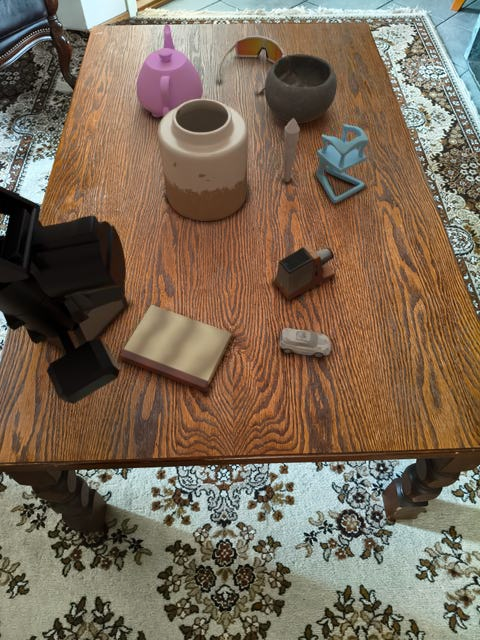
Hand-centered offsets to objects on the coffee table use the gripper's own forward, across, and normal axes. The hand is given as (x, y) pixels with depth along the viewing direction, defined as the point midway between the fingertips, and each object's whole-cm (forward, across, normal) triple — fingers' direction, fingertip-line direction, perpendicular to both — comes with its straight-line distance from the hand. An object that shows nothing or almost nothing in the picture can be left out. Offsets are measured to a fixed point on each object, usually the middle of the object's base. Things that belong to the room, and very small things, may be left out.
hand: (90, 341), depth 61 cm
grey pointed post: (+28, +23, -41) cm, 55 cm away
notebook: (+17, 0, -8) cm, 19 cm away
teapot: (+29, +57, -33) cm, 72 cm away
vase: (+24, +28, -27) cm, 46 cm away
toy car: (+20, -9, -25) cm, 33 cm away
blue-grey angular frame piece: (+29, +18, -49) cm, 60 cm away
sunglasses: (+34, +58, -54) cm, 86 cm away
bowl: (+32, +40, -54) cm, 75 cm away
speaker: (+16, +13, +3) cm, 20 cm away
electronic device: (+23, +2, -31) cm, 39 cm away
